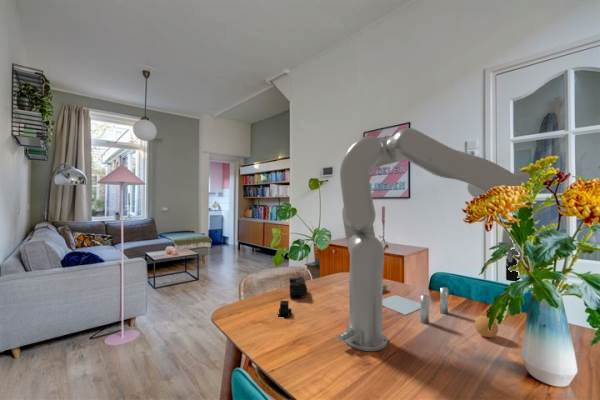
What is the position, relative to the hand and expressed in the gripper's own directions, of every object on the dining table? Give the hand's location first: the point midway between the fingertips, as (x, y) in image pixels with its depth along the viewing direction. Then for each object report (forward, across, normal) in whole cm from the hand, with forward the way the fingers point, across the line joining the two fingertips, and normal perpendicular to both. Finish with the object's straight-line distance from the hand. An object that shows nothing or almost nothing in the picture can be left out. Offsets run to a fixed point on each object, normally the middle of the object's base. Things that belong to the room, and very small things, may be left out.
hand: (518, 277), depth 77 cm
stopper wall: (+19, -2, -52) cm, 56 cm away
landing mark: (+20, -2, -38) cm, 43 cm away
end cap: (+19, +24, -72) cm, 78 cm away
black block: (+19, +39, -60) cm, 74 cm away
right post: (+20, -8, -24) cm, 32 cm away
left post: (+20, +6, -24) cm, 32 cm away
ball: (+17, 0, -8) cm, 19 cm away
